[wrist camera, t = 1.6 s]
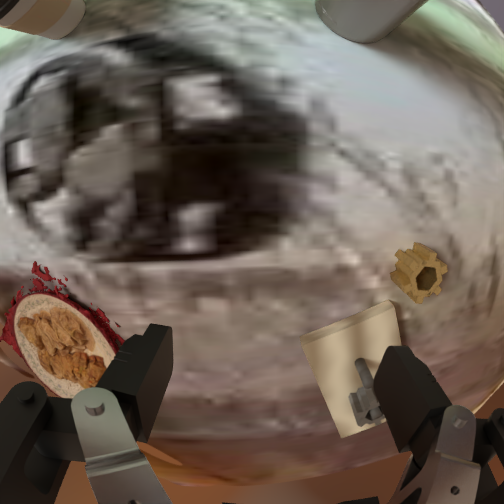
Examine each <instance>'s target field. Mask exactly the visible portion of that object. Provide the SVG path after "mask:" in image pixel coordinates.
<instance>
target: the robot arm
mask: <svg viewBox="0 0 504 504" xmlns="http://www.w3.org/2000/svg"><path fill="white" fill-rule="evenodd" d="M427 1H429V0H315V6H316V11H317V13H318V15H319V17H320V18H321V20H322V21H323V22H324V24H325V25H326V26H328V27H329V28H330V29H331V30H332V31H334V32H335V33H336V34H338V35H340V36H342V37H344V38H346V39H349V40H352V41H355V42H361V43H371V42H376V41H379V40H381V39H383V38H384V37H385V36H386V35H387V34H389V33H390V32H391V31H392V30H393V29H394V28H396V27H397V26H399V25H400V24H401V23H402V22H403V21H404V20H406V19H407V18H408V17H409V16H410V15H412V14H413V13H414V12H415V11H416V10H418V9H419V8H420V7H421V6H423V5H424V4H425V3H426V2H427ZM172 370H173V337H172V328H171V327H169V326H163V325H158V324H152V323H151V324H150V325H149V326H148V328H147V330H146V331H145V333H144V334H143V336H142V335H137V334H135V335H133V336H132V337H130V338H129V339H127V340H126V341H124V343H123V344H122V346H121V347H120V349H119V352H117V353H116V355H115V356H114V360H112V361H111V363H110V364H109V366H108V367H107V369H106V370H105V372H104V373H103V375H102V377H101V378H100V380H99V381H98V383H97V385H96V386H95V387H92V388H87V389H84V390H81V391H80V392H78V393H77V394H76V395H75V396H74V398H59V397H49V396H48V395H47V393H46V390H45V389H44V387H42V386H41V385H40V384H38V383H35V382H31V381H27V382H22V383H19V384H17V385H15V386H14V387H13V388H12V389H11V390H10V391H9V393H8V394H7V395H6V397H5V398H4V399H3V401H2V402H1V403H0V504H54V502H55V500H56V497H57V494H58V492H59V489H60V487H61V484H62V481H63V479H64V476H65V474H66V471H67V469H68V467H69V464H70V462H71V461H81V462H86V464H87V465H85V469H86V473H87V476H88V479H89V482H90V484H91V487H92V490H93V492H94V495H95V497H96V499H97V502H98V504H173V503H172V502H171V500H170V499H169V497H168V495H167V494H166V492H165V490H164V489H163V487H162V485H161V484H160V482H159V480H158V479H157V477H156V475H155V473H154V472H153V470H152V468H151V466H150V464H149V462H148V461H147V459H146V457H145V455H144V454H143V453H141V451H140V450H139V448H138V446H137V444H136V441H139V442H143V443H147V442H148V439H149V436H150V433H151V430H152V427H153V424H154V422H155V419H156V416H157V413H158V410H159V408H160V405H161V402H162V399H163V397H164V394H165V391H166V389H167V386H168V383H169V380H170V378H171V375H172ZM436 381H437V380H436V379H435V377H434V376H433V375H432V373H431V371H430V370H429V368H428V367H427V365H426V364H424V363H423V362H422V361H421V360H419V359H418V358H417V357H415V355H414V354H413V352H412V351H411V350H410V348H409V347H408V346H406V345H404V346H388V347H387V349H386V351H385V353H384V355H383V358H382V360H381V363H380V365H379V367H378V370H377V372H376V374H375V377H374V382H373V387H374V392H375V394H376V396H377V399H378V401H379V404H380V406H381V408H382V411H383V413H384V416H385V418H386V421H387V423H388V426H389V428H390V431H391V433H392V436H393V438H394V441H395V443H396V446H397V448H398V451H399V453H401V452H407V451H412V453H413V454H412V455H411V457H410V458H409V460H408V462H407V465H406V467H405V470H404V472H403V474H402V477H401V479H400V481H399V483H398V486H397V488H396V490H395V492H394V494H393V496H392V498H391V499H390V500H389V502H388V503H387V504H504V481H503V483H502V484H501V485H499V486H498V485H497V483H496V481H495V478H494V476H493V474H492V471H491V469H490V467H489V465H488V462H489V461H490V460H491V459H492V458H493V457H494V456H495V455H496V454H497V455H498V457H499V459H500V461H501V463H502V465H503V467H504V409H503V408H498V409H496V410H494V411H493V413H492V414H491V416H490V417H489V419H477V418H475V416H474V414H473V413H472V412H471V411H470V410H469V409H467V408H465V407H463V406H460V405H452V403H451V402H450V400H449V399H448V397H447V396H446V394H445V392H444V391H443V389H442V388H441V386H440V385H439V383H438V382H436ZM222 504H234V503H222ZM338 504H379V500H378V497H377V496H376V497H371V498H365V499H359V500H352V501H345V502H341V503H338Z"/></svg>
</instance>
